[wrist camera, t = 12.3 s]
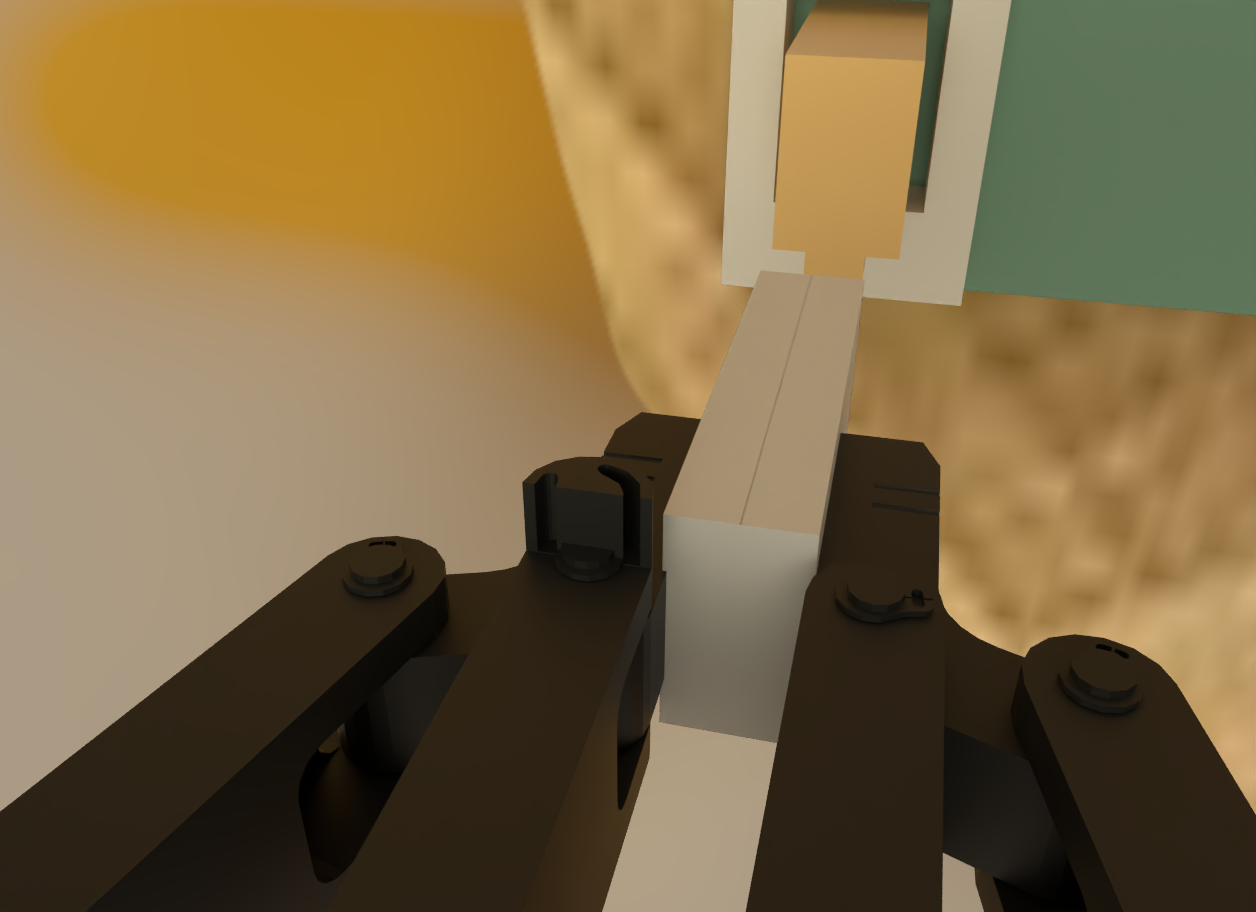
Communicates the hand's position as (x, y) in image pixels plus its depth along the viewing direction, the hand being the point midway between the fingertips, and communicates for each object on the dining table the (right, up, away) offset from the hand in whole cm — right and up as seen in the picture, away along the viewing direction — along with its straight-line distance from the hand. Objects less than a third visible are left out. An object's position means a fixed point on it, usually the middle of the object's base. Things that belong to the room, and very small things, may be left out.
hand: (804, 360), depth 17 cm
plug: (+4, +9, +15) cm, 19 cm away
